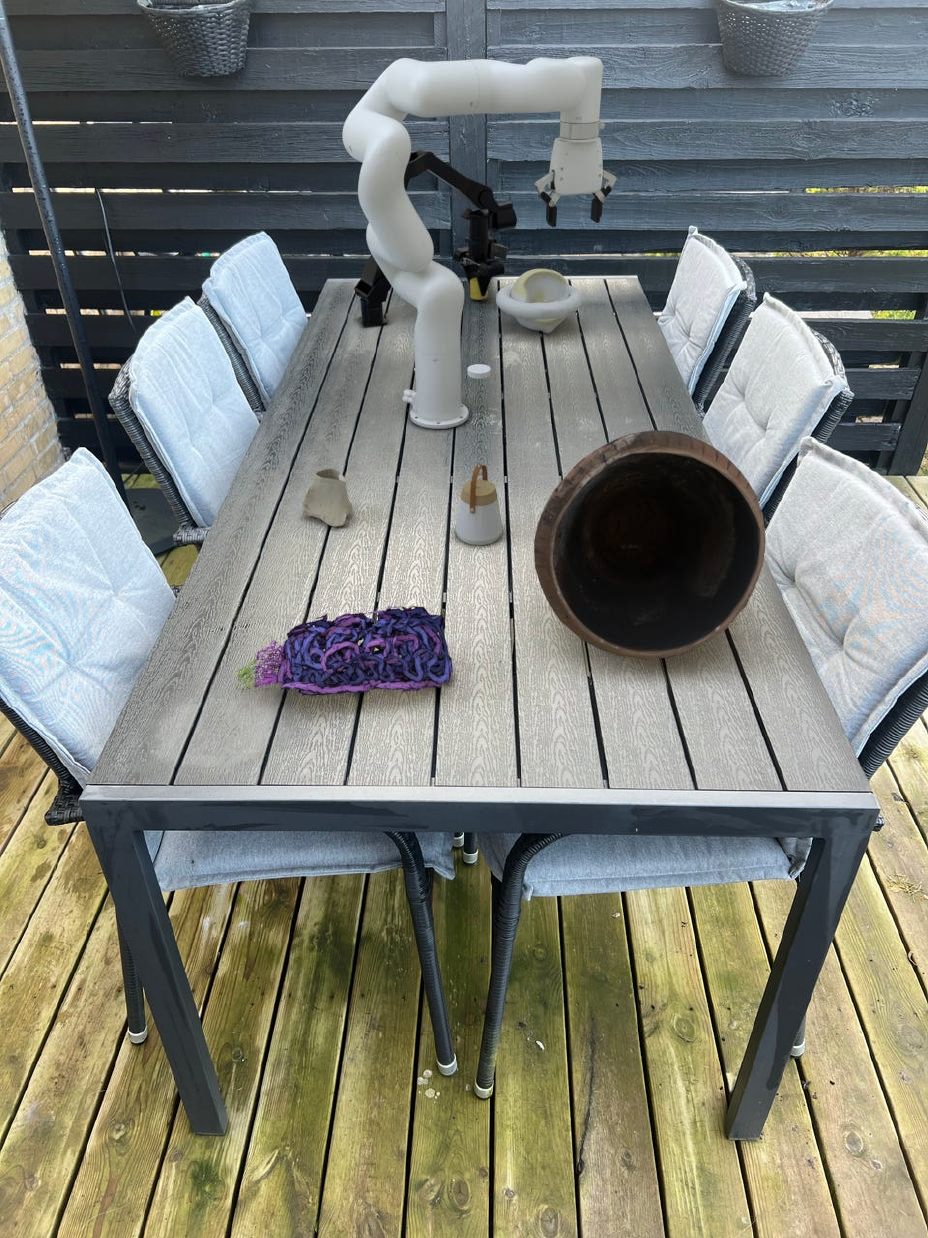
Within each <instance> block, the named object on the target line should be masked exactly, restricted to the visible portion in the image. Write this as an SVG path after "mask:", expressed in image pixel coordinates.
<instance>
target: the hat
mask: <svg viewBox="0 0 928 1238" xmlns="http://www.w3.org/2000/svg"><path fill="white" fill-rule="evenodd" d="M495 303H496V305H497V307H498V308H499V309H500V311H502V312H503V313H505V314H507V315H510V316H513V317H514V318H515V319H516V321H517V322H518V323H519V324H520V325H521V326H523V328H526V329H529V330H531V331H536V332H537V331H539V332H542V333H545V334H550V333H551V332H553V331H554V330H555V328H557V327H558V325H560V324H561V323H562V322H563V321H564V320H565V319H566V318H567V317H568V316H570V315H572V314H574V313H575V312H577V311H578V310H579V309H580V308H581V306H582V303H583V295H582V293H581V292H580V291H579V290H578V289H577V288H575V287H574V286H572V285H570V284H569V283H568V282H567V280H566V278H565V277H564V275H563V274H561V273H560V272H559V271H556V270H553V269H548V268H535V269H530V270H527V271H525V272H523V273H522V274H521V275H520V276H519V277H518V278H517V279H516V281H515V282H513V283H509V284H507V285H505V286H503V287H501V288H500V290H498V292H497V293H496V295H495Z"/></svg>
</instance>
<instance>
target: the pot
mask: <svg viewBox="0 0 928 1238" xmlns="http://www.w3.org/2000/svg"><path fill="white" fill-rule="evenodd" d="M535 530H536V531H535V534H534V540H533V545H534V546H533V558H534V569H535V572H536V576H537V579H538V582H539V585H540V587H541V590H542V592H543V594H544V597H545V599H546V601H547V603H548V605H549V607H550V608H551V610H552V612H553V613H554V614H555V616H556V617H557V619H558V620H559V621H560V622H561V623H562V624H563V625H564V626H565V627H566V628H568V629H569V630H570V631H571V632H572V633H573V634H574V635H576V636H577V637H578V638H580V639H581V640H582V641H583V642H585V643H586V644H589V645H591V646H593V647H594V648H597V649H599V650H601V651H603V652H606V653H608V654H611V655H614V656H616V657H623V658H631V659H639V660H654V659H668V658H672V657H673V656H678V655H682V654H686V653H688V652H691V651H693V650H695V649H697V648H699V647H701V646H703V645H705V644H707V643H709V642H710V641H712V640H713V639H715V638H716V637H718V636H720V635H721V634H722V633H723V632H725V631H726V630H727V629H728V628H729V626H730V625H731V624H732V623H734V622H735V620H736V619H737V618H738V616H739V614H740V613H741V612H742V611H743V610H744V609H745V608H747V606H748V603H749V601H750V599H751V597H752V595H753V594H754V591H755V589H756V588H757V587H756V586H757V585H756V584H757V583H758V581H759V579H760V576H761V573H762V569H763V566H764V561H765V553H766V542H767V541H766V539H767V538H766V530H765V521H764V513H763V511H762V509H761V506H760V502H759V499H758V496H757V494H756V492H755V490H754V489H753V487H752V485H751V483H750V482H749V480H748V479H747V477H746V476H745V475H744V474H743V472H742V471H741V470H740V469H739V467H738V466H736V465H735V464H734V463H733V461H732V460H730V459H729V458H728V457H727V456H726V455H725V454H724V453H723V452H721V450H718V449H717V448H716V447H714V446H713V445H711V444H709V443H707V442H705V441H703V440H702V439H699V438H696V437H693V436H690V435H688V434H685V433H682V432H677V431H673V430H659V429H657V430H655V429H652V430H645V431H638V432H634V433H633V432H632V433H629V434H626V435H623V436H620V437H618V438H615V439H613V440H611V441H610V442H608V443H606V444H604V445H602V446H600V447H599V448H596V449H595V450H593V451H592V452H590V453H589V454H587V455H585V456H584V457H583V458H582V459H581V460H580V461H578V462H577V463H576V464H575V465H574V466H573V468H572V469H571V470H570V471H569V472H568V473H567V474H566V476H565V477H564V478H563V479H562V480H561V481H560V482H559V483H558V485H557V486H556V487H555V488H554V489H553V491H552V493H551V494H550V496H549V497H548V499H547V501H546V503H545V506H544V507H543V509H542V510H541V513H540V516H539V520H538V522H537V525H536V529H535Z"/></svg>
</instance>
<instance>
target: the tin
mask: <svg viewBox="0 0 928 1238" xmlns="http://www.w3.org/2000/svg"><path fill="white" fill-rule="evenodd" d="M488 291H489V288H488V289H487V292H486V295H485V296H481V293H480V290H479V286H478V282H477V279H476V278H472V279H471V280H470V285H469V297H470V299H472V300H478V301H480V300H485V299H487V298H488V297H489V296H488V295H489V294H488V293H489V292H488Z"/></svg>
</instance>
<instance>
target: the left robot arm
mask: <svg viewBox="0 0 928 1238" xmlns="http://www.w3.org/2000/svg"><path fill="white" fill-rule="evenodd" d="M425 171H428V172H429V173H431V174H432V175H433V176H435V177H436V178H438V179H440V180H441V181H443V182H444V183H445V184H447V185H448V186H450V187H451V188H452V189H454V190H455V191H456V192H457V194H458V195H459V196H460V197H461V198H462V199H463V200H464V201H465V202H466V203H467V204H468V205H470V206H472V207H475V208H477V209H471V208H469V207H465V209H464V211H463V212H462V213H461V214H460V217H461V218H462V219H465V220H467V237H466V236H465V237H464V242H465V243H467V246H465V247H464V246H463V247H460V248H459V247H458V248H456V249H455V250H454V251H453V252H452V254H453V259H452V260H454V261H455V262H457V263H459V266H460V268H461V270H462V272H463V274H464V277H465V278H466V280H467V282H468V285H469V286H470V280H471V279H472V278H476V279H477V282H478V286H479V290H480V293H481V296H485V295H486V292H487V289H488V290H489V286H490V283H491V281H492V278H493V277H495V276H500V275H505V274H506V265H505V264H504V263H503V262H502V261H500V260H497V259H501V260H503V261H506V260H507V257H508V254H509V250H510V248H509V247H507V246H505V245H503V244H500V243H499V242H498V239H497V238H494V237H491V236H490V235H491V233H490V231H492V232H493V233H497V232H503V231H505V232H506V231H510V230H514V229H516V228H517V224H518V217H517V214H516V210H515V209H514V203H513V202H510V201H505V202H503V203H498V202H497V201H496V199H495V198H494V197H495V196H494V191H493V188H491V187H490V186H489V185H486V184H483V183H481V182H479V181H476V180H474V179H471V178H469V177H467V176H465V175H464V174H463V173H461V172H459V171H458V170H457V169H455V168H454V167H452V166H451V165H450V164H448V163H447V162H445V161H444V160H442V159H441V158H440V157H438V156H437V155H436V154H434V152H432V151H430V150H427V149H425V148H420V149H418V150H415V151H411V153H410V158H409V161H408V164H407V167H406V170H405V174H404V188H405V191H406V192H407V190H408V187H409V184H410V181H411V179H414V178H416V177H418V176H420V175H421V174H423V173H424V172H425ZM484 210H486V211H484ZM495 258H497V259H495ZM392 288H393V287H392V286H391V284H390V282H389V281H388V279H387V278H386V276H385V275H384V273H383V272H382V270H381V268H380V267H379V265H378V264H377V262H376V260H375V259H374V257H373V255H372V254H371V253H370V256H369V257H368V259H367V260H366V262H365V265H364V267H363V270H362V274H361V277H360V279H359V281H358V282H357V283H356V285H355V286H354V287H353V290H354V293H355V295H356V296H357V297H359V298H360V299H359V301H360V302H359V304H360V313H361V315H360V316H358V317H357V319H358V321H359V322H360V324H361V326H362V327H363V328H367V327H376V326H382V325H388V321H387V320H386V318H385V316H384V307H383V303H386V302H387V299H388V294H389V292H391V290H392Z"/></svg>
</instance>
